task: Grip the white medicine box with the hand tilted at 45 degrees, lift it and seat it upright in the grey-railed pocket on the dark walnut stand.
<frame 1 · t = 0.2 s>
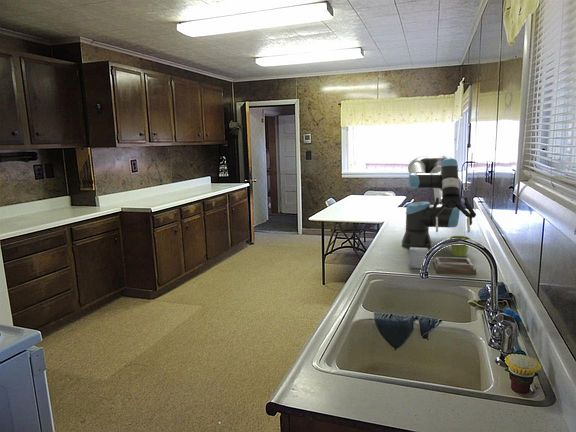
hand: (452, 231, 192), 15 cm above the worktop, tool tilted 35°, fingers open, 13 cm apart
plant pot: (459, 255, 207), on the worktop
medicine box: (418, 267, 191), on the worktop
walnut stand: (453, 268, 188), on the worktop
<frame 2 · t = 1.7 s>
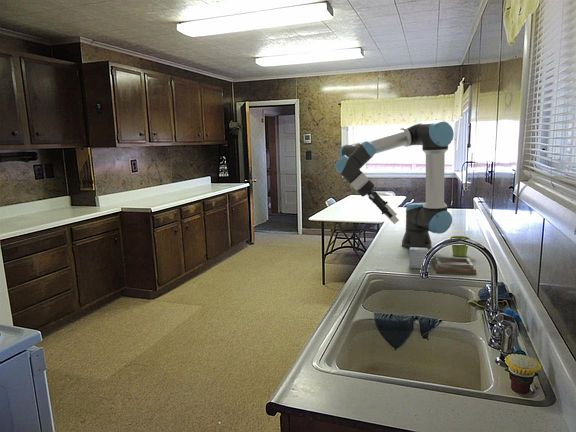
hand: (395, 219, 189), 22 cm above the worktop, tool tilted 45°, fingers open, 13 cm apart
nothing on the worktop moved.
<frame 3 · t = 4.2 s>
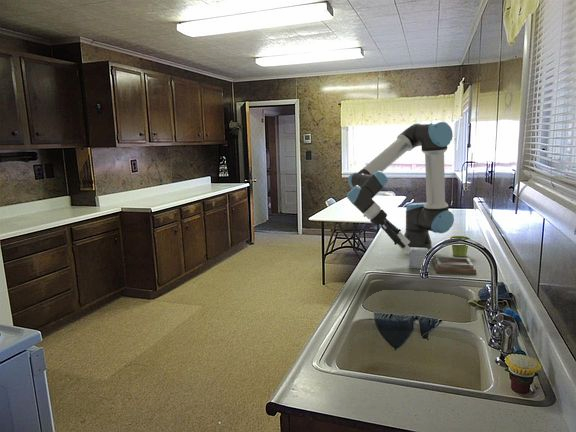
hand: (408, 247, 190), 9 cm above the worktop, tool tilted 45°, fingers open, 13 cm apart
nothing on the worktop moved.
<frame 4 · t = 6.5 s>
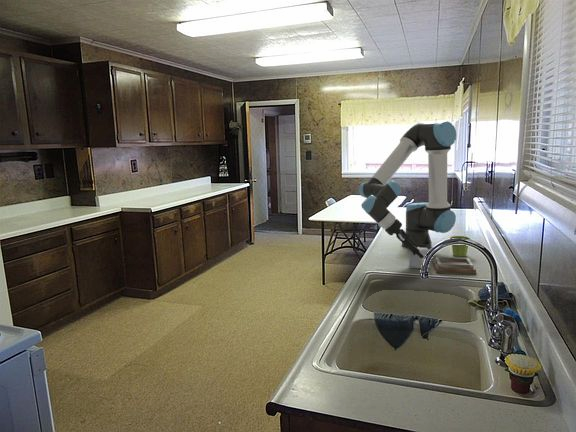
hand: (427, 260, 190), 3 cm above the worktop, tool tilted 45°, fingers closed on medicine box, 5 cm apart
medicine box: (418, 267, 192), on the worktop, touching gripper
everything else where it was.
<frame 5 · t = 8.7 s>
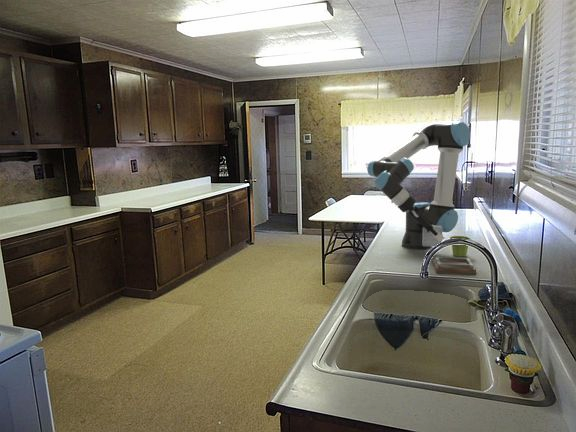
hand: (441, 238, 186), 14 cm above the worktop, tool tilted 45°, fingers closed on medicine box, 4 cm apart
medicine box: (431, 245, 187), point 10 cm above the worktop, touching gripper
everything else where it was.
when the fingers open (6 cm above the worktop, at t = 11.1 s): medicine box stays where it is, resting on walnut stand.
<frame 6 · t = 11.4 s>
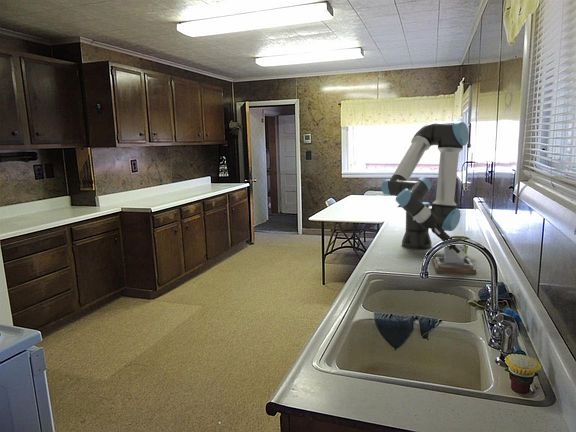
hand: (462, 254, 186), 7 cm above the worktop, tool tilted 45°, fingers open, 8 cm apart
medicine box: (453, 264, 188), point 2 cm above the worktop, touching walnut stand
everything else where it was.
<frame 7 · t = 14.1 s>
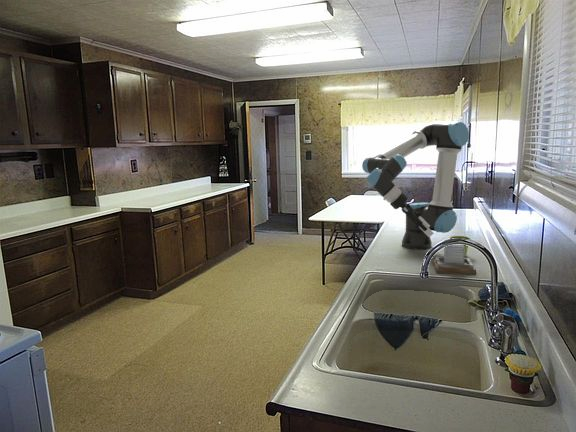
hand: (429, 231, 187), 17 cm above the worktop, tool tilted 45°, fingers open, 13 cm apart
nothing on the worktop moved.
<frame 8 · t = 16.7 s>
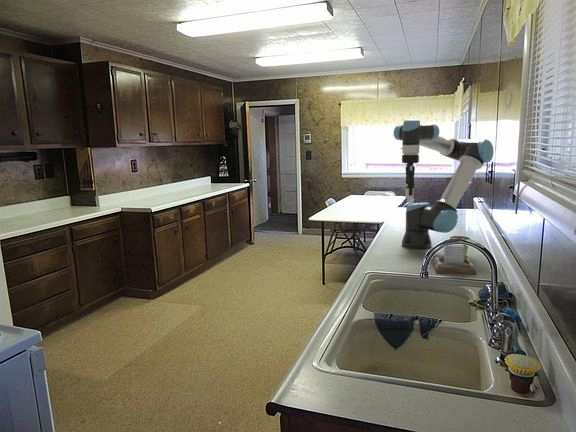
hand: (409, 200, 198), 29 cm above the worktop, tool pointing down, fingers open, 13 cm apart
nothing on the worktop moved.
at the end: medicine box 0.1 cm off-centre on the walnut stand, point 1.8 cm above the walnut stand's base; medicine box tilted 0°; the gripper is holding nothing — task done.
